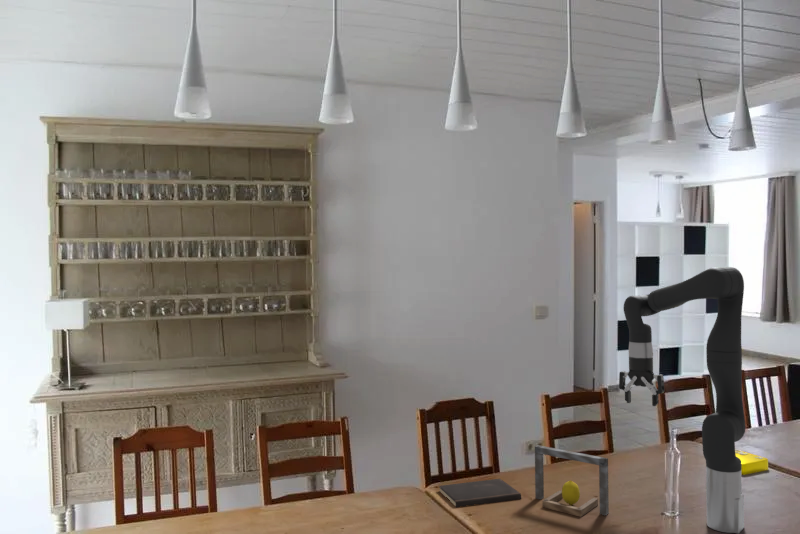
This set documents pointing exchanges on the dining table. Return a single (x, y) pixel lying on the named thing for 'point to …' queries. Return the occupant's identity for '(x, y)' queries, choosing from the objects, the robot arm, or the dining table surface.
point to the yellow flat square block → (751, 462)
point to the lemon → (570, 492)
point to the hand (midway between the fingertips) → (641, 404)
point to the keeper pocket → (552, 500)
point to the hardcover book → (479, 492)
